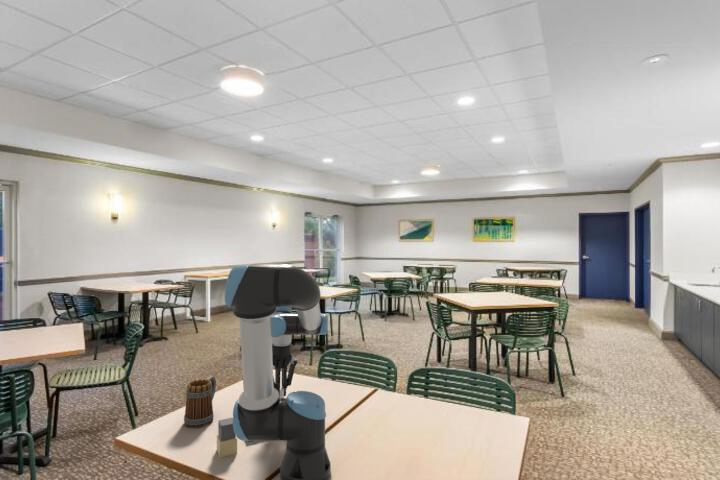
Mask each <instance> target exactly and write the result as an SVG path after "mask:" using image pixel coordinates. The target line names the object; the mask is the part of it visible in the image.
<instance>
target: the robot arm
mask: <svg viewBox="0 0 720 480" xmlns="http://www.w3.org/2000/svg"><path fill="white" fill-rule="evenodd" d="M320 300H321V289H320V286H319V283H318V282H317V281H316V280H315V278H314V277H313V276H312V275H311V274H309V273H308V272H307V271H305V270H304V269H302V268H300V267H298V266H295V265H290V264H259V263H258V264H256V263H255V264H253V263H248V264H236V265H234V266H233V267H232V268H231V269H230V271H229V274H228V276H227V279H226V284H225V288H224V304H225V305H226V307H228V308H233V309H232V310H233V315H234V317H235V318H236V319H238V320H239V332H240V333H239V334H240V349H241V350H240V351H241V366H242V369H241V370H242V384H243V392H241V393H240V395H239V397H238V398H237V400H236V401H235V403H234V406H233V410H232V417H233V428H234V432H235V435H236V437H237V440H241V441H247V442H256V441H259V442H260V441H265V442H269V441H274V442H275V441H279V442H280V441H284V442H286V444H285V445H286V447H285V451H284V454H283V457H282V460H281V464H280V466H279V478H280V480H328V479H329V477H330V476H331V473H332V471H331V461H330V458H329V455H328V451H327V448H326V417H327V413H326V403H325V402H326V401H325V399H324V398H323V397H322V396H321V395H319V394H318V393H315V392H313V391H307V390H297V391H292V392H290V393H288V394H287V389H288V387H290V386H291V385H292V381H293V377H294V373H295V368H296V365H298V362H299V361H298V360H297V359H296V358H293V356H292V336H294V335H295V336H298V335H300V336H309V335H310V336H320V335H324V336H325V335H327V334H328V329H329V328H328V327H329V326H328V325H329V317H328V315H327V314H326V313H321V307H320ZM292 309H295V311H296V313H293V311H292ZM288 366H289V368H288ZM273 368H274V369H273ZM274 370H275V372H274ZM287 371H288V372H287ZM274 376H275V377H274ZM286 395H287V396H286ZM285 397H286V398H285Z"/></svg>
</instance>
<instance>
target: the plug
mask: <svg viewBox="0 0 720 480" xmlns="http://www.w3.org/2000/svg"><path fill="white" fill-rule="evenodd" d="M217 426H218V427H217V428H218V429H217V430H218V433H217V435H216V451H217V455H218V456H219V458H220V459H221V457H222V458H226V457H228V456H229V457H230V456H232V455H236V453H237V454H238V438H237V436H236V435H235V432H234V428H233V416H232V417H228V418H224V419H219V420H218V425H217Z"/></svg>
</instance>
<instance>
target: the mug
mask: <svg viewBox="0 0 720 480" xmlns="http://www.w3.org/2000/svg"><path fill="white" fill-rule="evenodd" d="M216 380H217V379H216V378H215V377H214V376H207V377H206V379H202V378H201V379H197V380H196V379H195V380H192V381H189V383H187V387H186V392H185V393H186V394H185V397H186V398H185V399H186V400H185V411H184V416H183V422H184V425H185V426H186V427H188V428H190V429H192V428H195V429H197V428H202V427H206V426H208V425H209V424H211V423H212V422H213V420H214V409H213V399H214V398H215V397H214V396H215V394H216V388H217V387H216V386H217V382H216Z"/></svg>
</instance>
